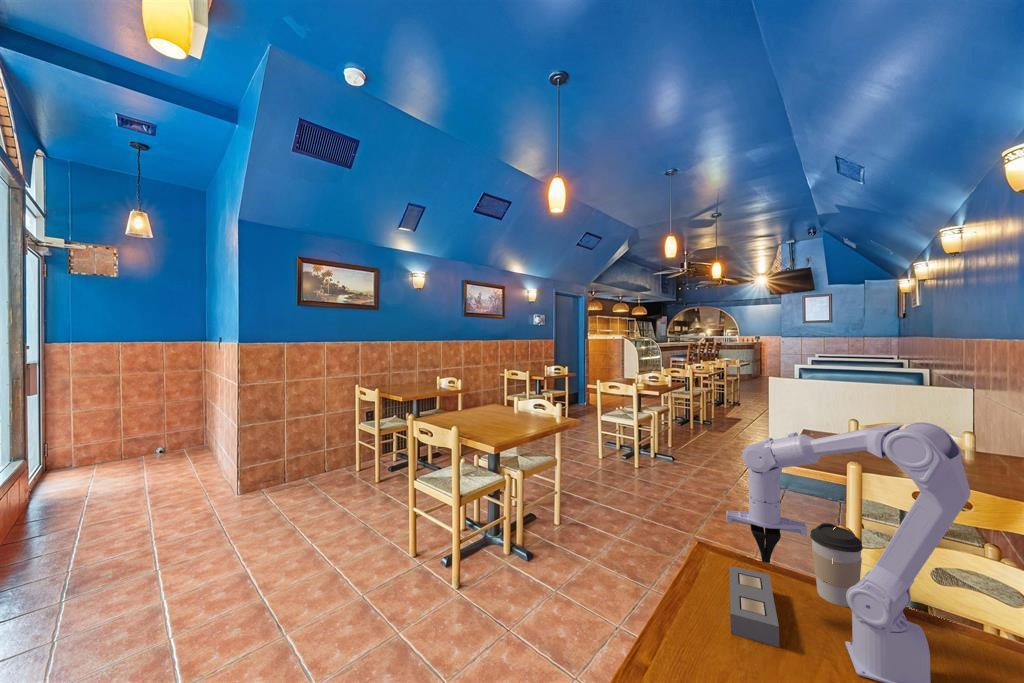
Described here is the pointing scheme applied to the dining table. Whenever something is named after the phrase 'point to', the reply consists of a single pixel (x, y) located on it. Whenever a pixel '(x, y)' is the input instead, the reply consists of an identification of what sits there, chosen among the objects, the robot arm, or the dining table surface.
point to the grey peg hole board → (749, 622)
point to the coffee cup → (835, 561)
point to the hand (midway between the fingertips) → (765, 560)
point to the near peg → (752, 606)
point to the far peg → (750, 581)
